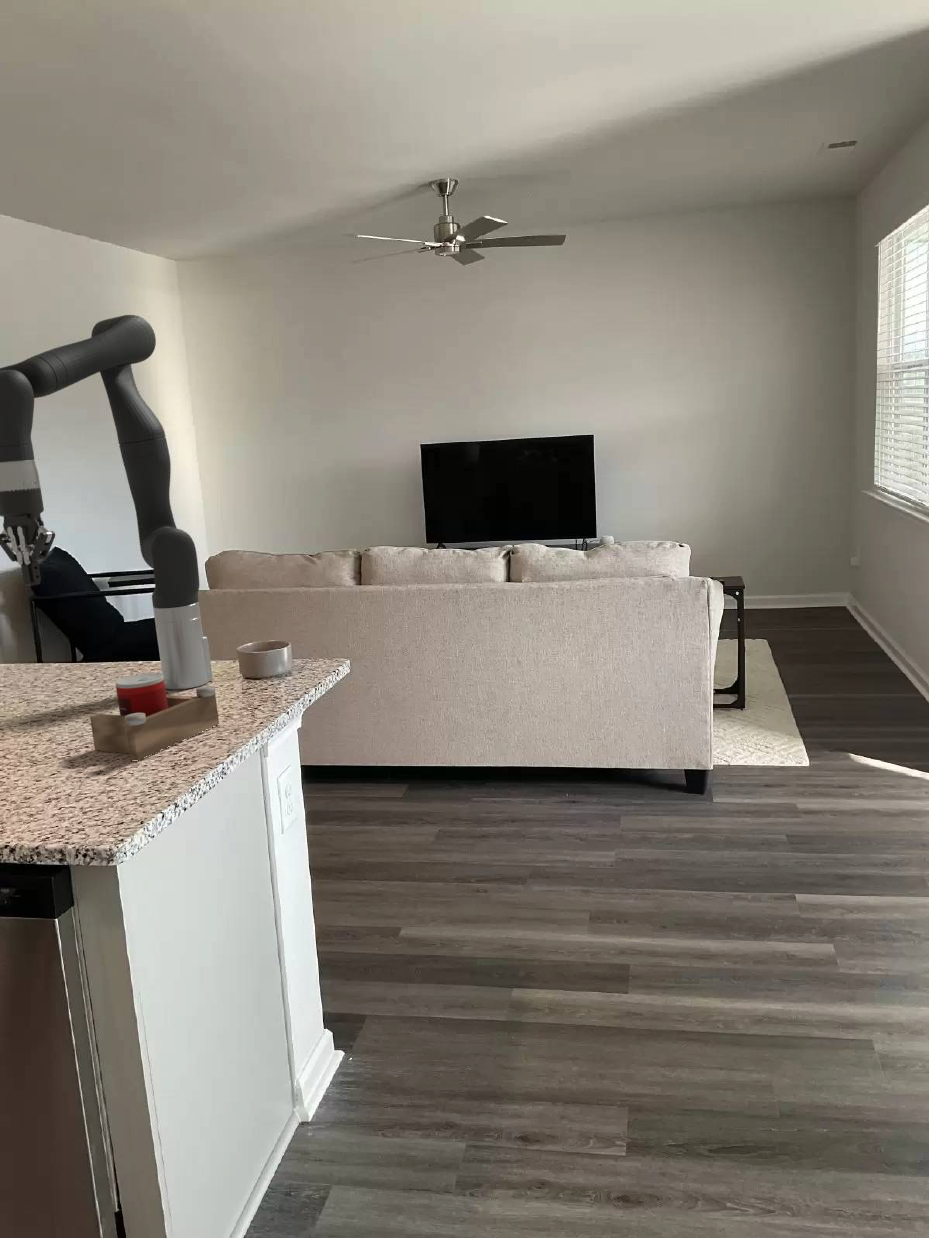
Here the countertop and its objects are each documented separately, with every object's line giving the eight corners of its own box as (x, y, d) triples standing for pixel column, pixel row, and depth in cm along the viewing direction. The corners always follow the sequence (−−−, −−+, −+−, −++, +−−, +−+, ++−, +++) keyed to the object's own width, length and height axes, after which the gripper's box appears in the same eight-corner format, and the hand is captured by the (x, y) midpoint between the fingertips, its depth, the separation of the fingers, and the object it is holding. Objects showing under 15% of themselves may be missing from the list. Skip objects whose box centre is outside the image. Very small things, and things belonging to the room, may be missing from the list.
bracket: (80, 756, 164) (74, 714, 163) (166, 721, 182) (160, 683, 181) (141, 762, 158) (135, 718, 157) (223, 725, 176) (218, 686, 175)
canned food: (180, 733, 173) (172, 672, 171) (154, 748, 166) (145, 684, 164) (142, 733, 175) (134, 672, 173) (115, 747, 168) (105, 684, 166)
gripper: (61, 484, 175) (76, 581, 178) (9, 487, 181) (24, 581, 184) (26, 487, 168) (42, 588, 171) (-27, 491, 174) (-11, 588, 177)
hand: (32, 584), depth 178 cm, fingers closed
